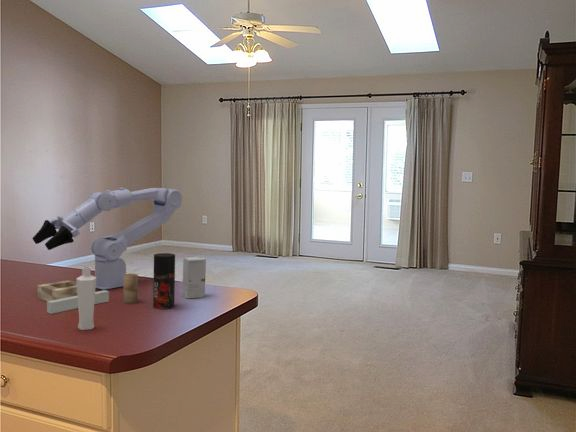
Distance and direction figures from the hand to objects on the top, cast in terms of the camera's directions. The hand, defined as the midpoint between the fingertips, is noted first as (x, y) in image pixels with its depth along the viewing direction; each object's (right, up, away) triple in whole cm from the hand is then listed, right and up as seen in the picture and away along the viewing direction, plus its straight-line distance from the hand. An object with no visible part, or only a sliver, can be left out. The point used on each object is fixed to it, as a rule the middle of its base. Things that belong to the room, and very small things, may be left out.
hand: (40, 244), depth 154 cm
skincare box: (+44, -17, +8) cm, 48 cm away
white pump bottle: (+24, -19, -26) cm, 40 cm away
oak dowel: (+27, -17, -1) cm, 32 cm away
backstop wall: (+15, -17, -8) cm, 24 cm away
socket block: (+7, -16, 0) cm, 17 cm away
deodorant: (+38, -18, -4) cm, 42 cm away
